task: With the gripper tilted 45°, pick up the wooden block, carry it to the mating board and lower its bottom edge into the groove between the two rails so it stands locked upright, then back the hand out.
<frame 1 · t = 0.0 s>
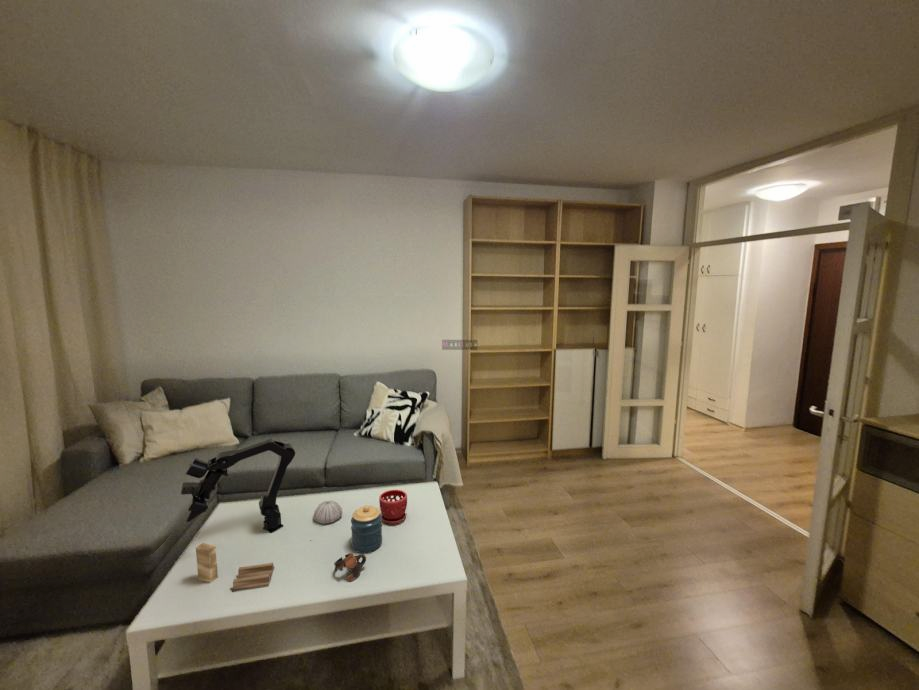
hand: (188, 516, 164), 15 cm above the table, tool tilted 35°, fingers open, 9 cm apart
wooden block: (208, 578, 149), on the table
plant pot: (393, 519, 190), on the table
canister: (367, 544, 171), on the table
sea urchin shell: (328, 518, 190), on the table
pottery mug: (351, 573, 153), on the table
mating board: (254, 579, 149), on the table
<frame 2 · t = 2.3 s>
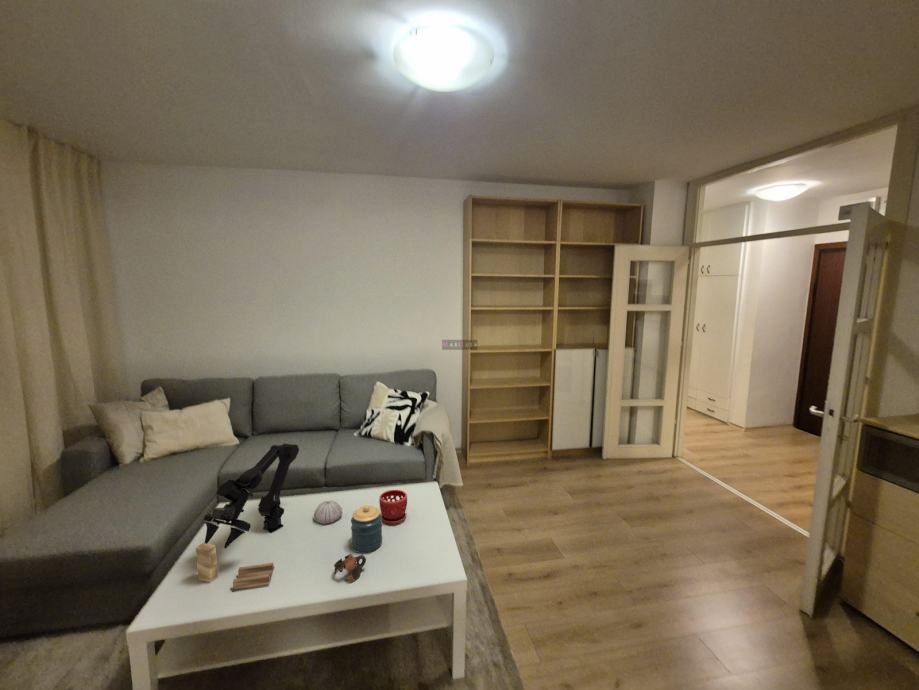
hand: (215, 545, 151), 11 cm above the table, tool tilted 45°, fingers open, 9 cm apart
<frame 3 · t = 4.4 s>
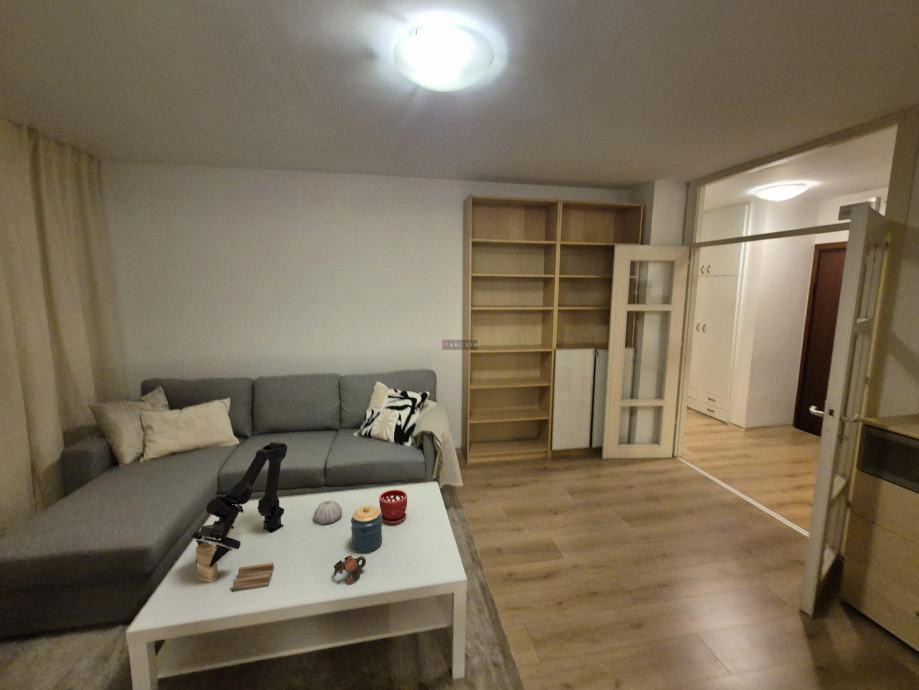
hand: (203, 564, 147), 7 cm above the table, tool tilted 45°, fingers closed on wooden block, 6 cm apart
wooden block: (208, 578, 149), on the table, touching gripper
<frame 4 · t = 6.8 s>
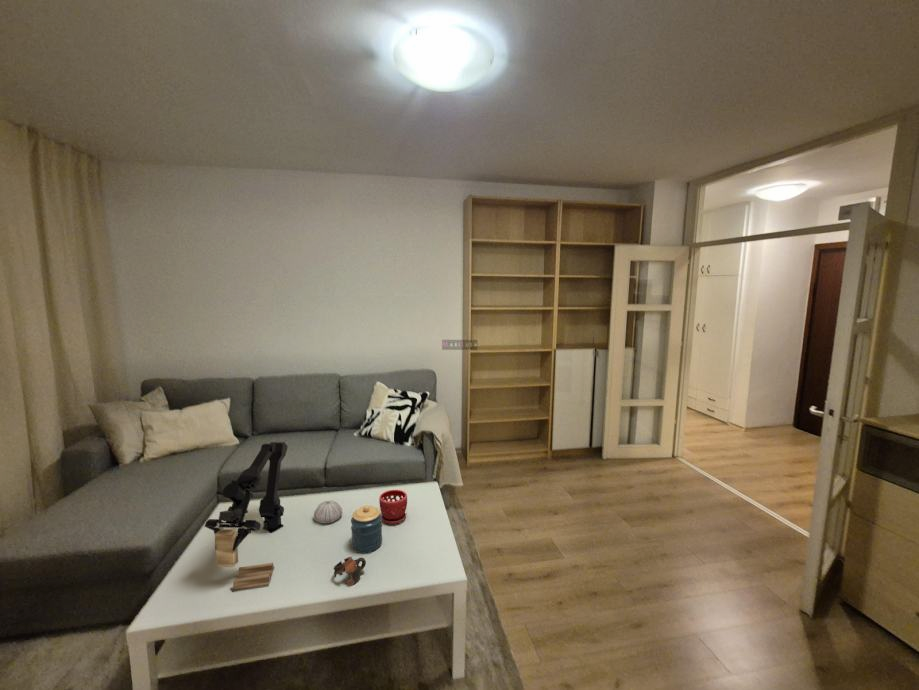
hand: (224, 550, 145), 13 cm above the table, tool tilted 45°, fingers closed on wooden block, 6 cm apart
wooden block: (228, 564, 147), point 7 cm above the table, touching gripper
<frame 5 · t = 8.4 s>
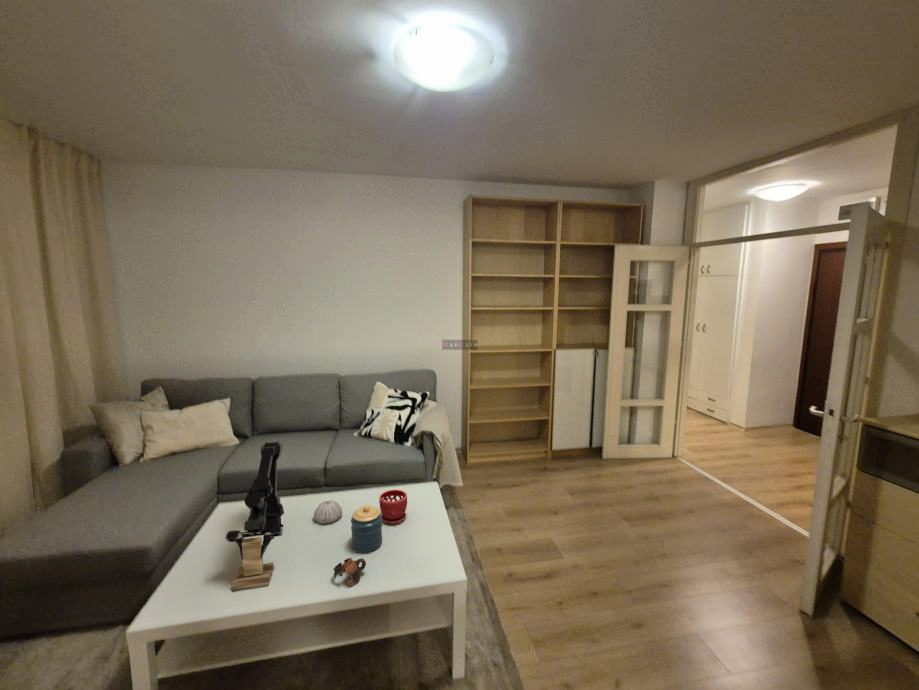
hand: (251, 558, 146), 9 cm above the table, tool tilted 45°, fingers closed on wooden block, 6 cm apart
wooden block: (253, 572, 149), point 3 cm above the table, touching gripper
when the fingers open (9 cm above the table, at t = 9.4 s): wooden block drops 1 cm, resting on mating board.
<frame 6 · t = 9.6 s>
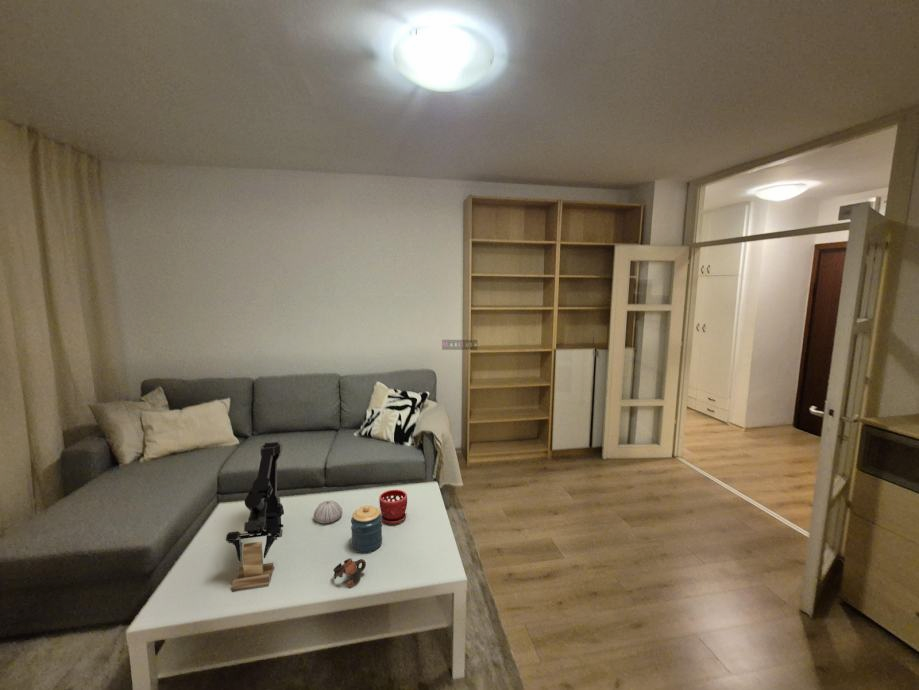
hand: (251, 559, 146), 9 cm above the table, tool tilted 45°, fingers open, 8 cm apart
wooden block: (254, 576, 149), point 1 cm above the table, touching mating board
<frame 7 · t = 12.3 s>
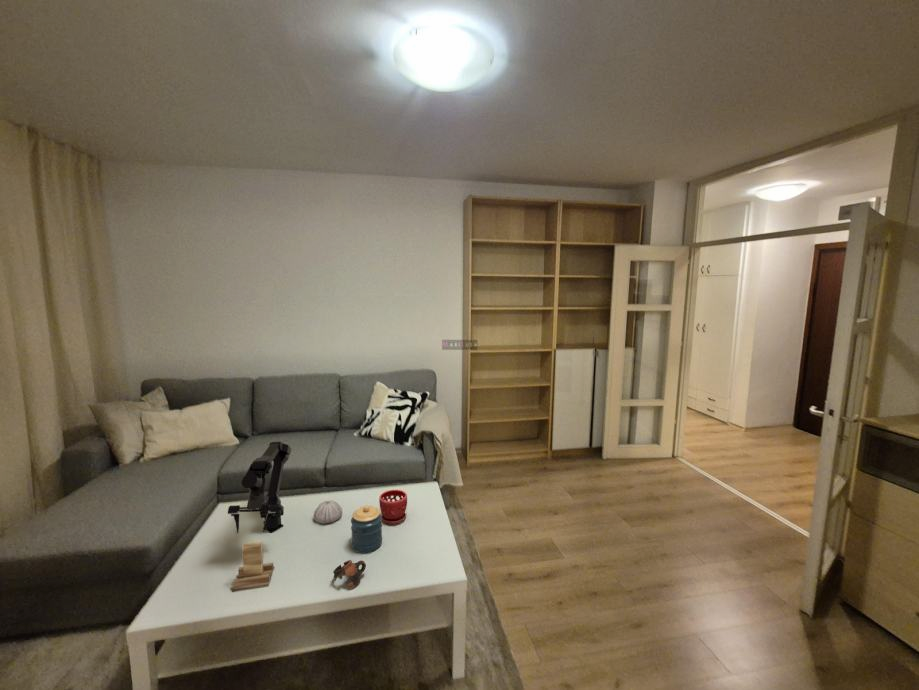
hand: (250, 532, 157), 13 cm above the table, tool tilted 35°, fingers open, 9 cm apart
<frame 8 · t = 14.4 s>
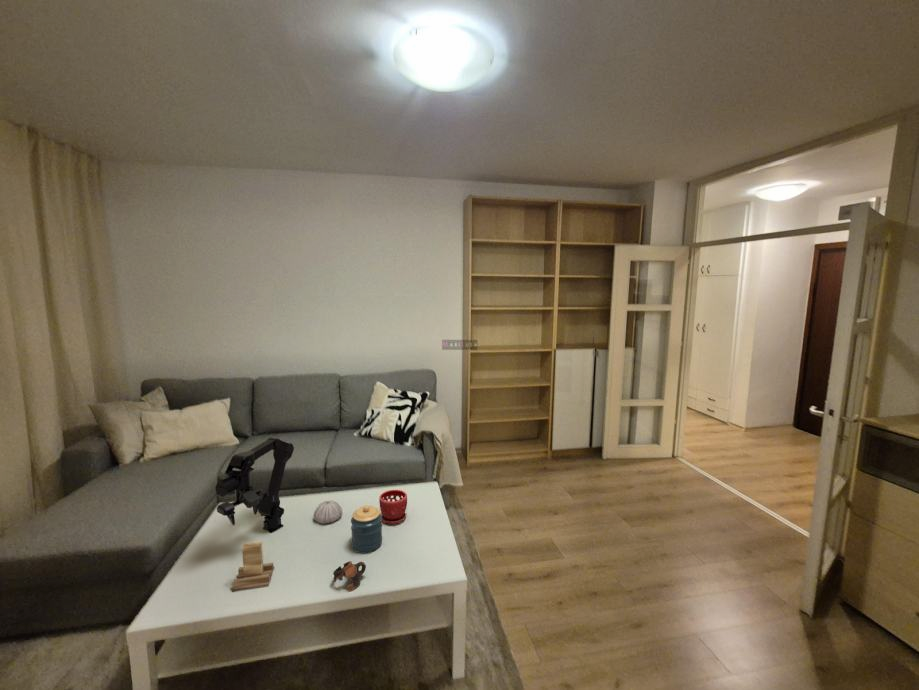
hand: (244, 519, 165), 13 cm above the table, tool pointing down, fingers open, 9 cm apart
at the end: wooden block 0.0 cm from the mating board (horizontally); wooden block inside the target area on the mating board (0.0 cm from its centre), point 1.0 cm above the mating board's base; wooden block tilted 0° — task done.
